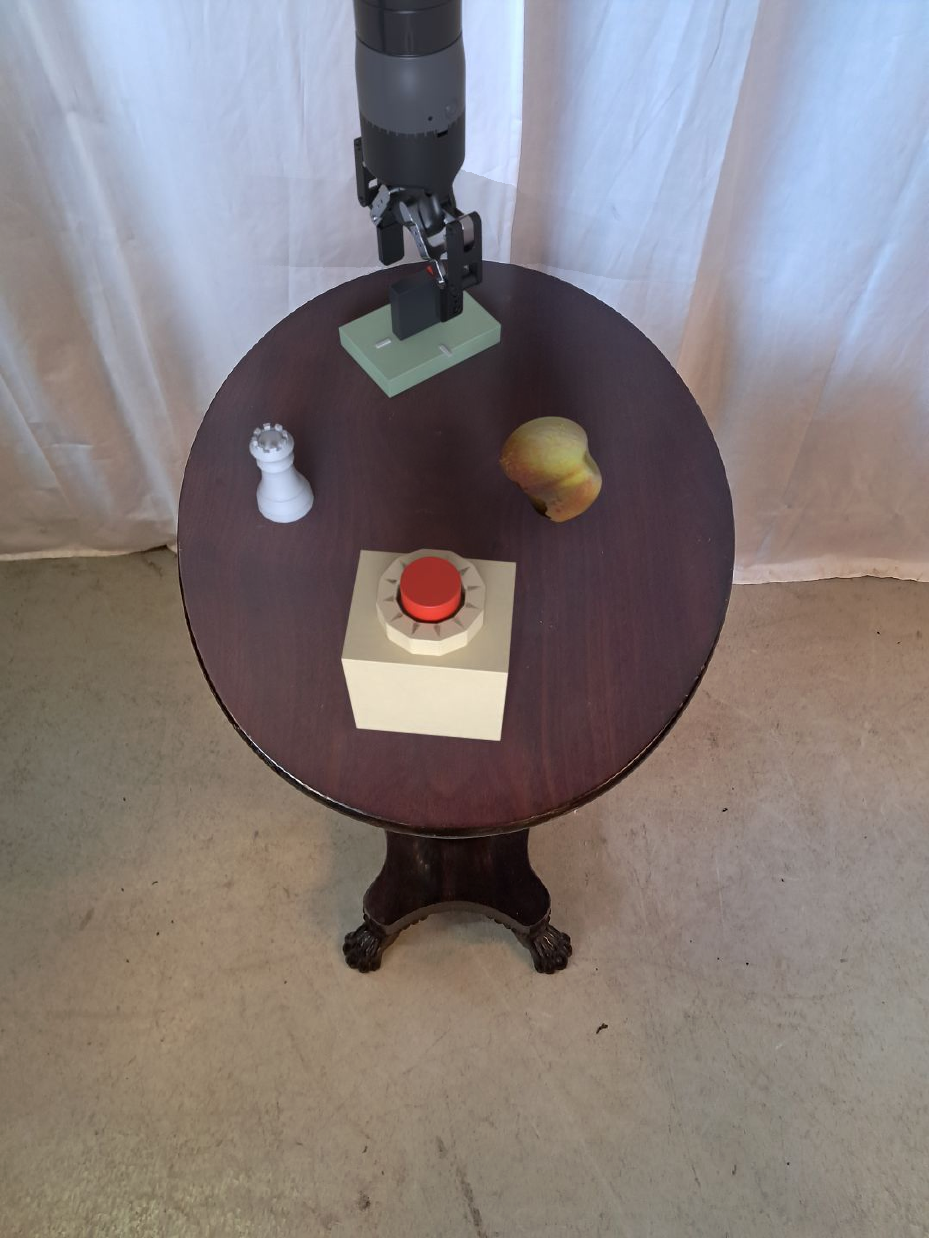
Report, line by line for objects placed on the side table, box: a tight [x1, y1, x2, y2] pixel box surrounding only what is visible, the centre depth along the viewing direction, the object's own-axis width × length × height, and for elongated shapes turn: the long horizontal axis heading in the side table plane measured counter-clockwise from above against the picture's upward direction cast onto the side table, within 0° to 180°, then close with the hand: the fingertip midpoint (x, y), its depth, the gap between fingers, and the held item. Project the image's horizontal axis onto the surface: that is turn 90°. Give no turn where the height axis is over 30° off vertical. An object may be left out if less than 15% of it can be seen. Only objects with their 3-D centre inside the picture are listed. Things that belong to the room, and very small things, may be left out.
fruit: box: [498, 416, 603, 523], centre depth 70 cm, size 8×8×8 cm
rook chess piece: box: [248, 422, 315, 524], centre depth 70 cm, size 4×4×8 cm
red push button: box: [400, 557, 461, 622], centre depth 54 cm, size 4×4×2 cm
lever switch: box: [338, 290, 502, 398], centre depth 81 cm, size 12×9×2 cm
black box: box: [388, 265, 441, 341], centre depth 78 cm, size 5×1×5 cm, turn 126°
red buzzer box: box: [340, 548, 517, 742], centre depth 60 cm, size 10×8×12 cm
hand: (420, 288), depth 77 cm, fingers open, 8 cm apart
